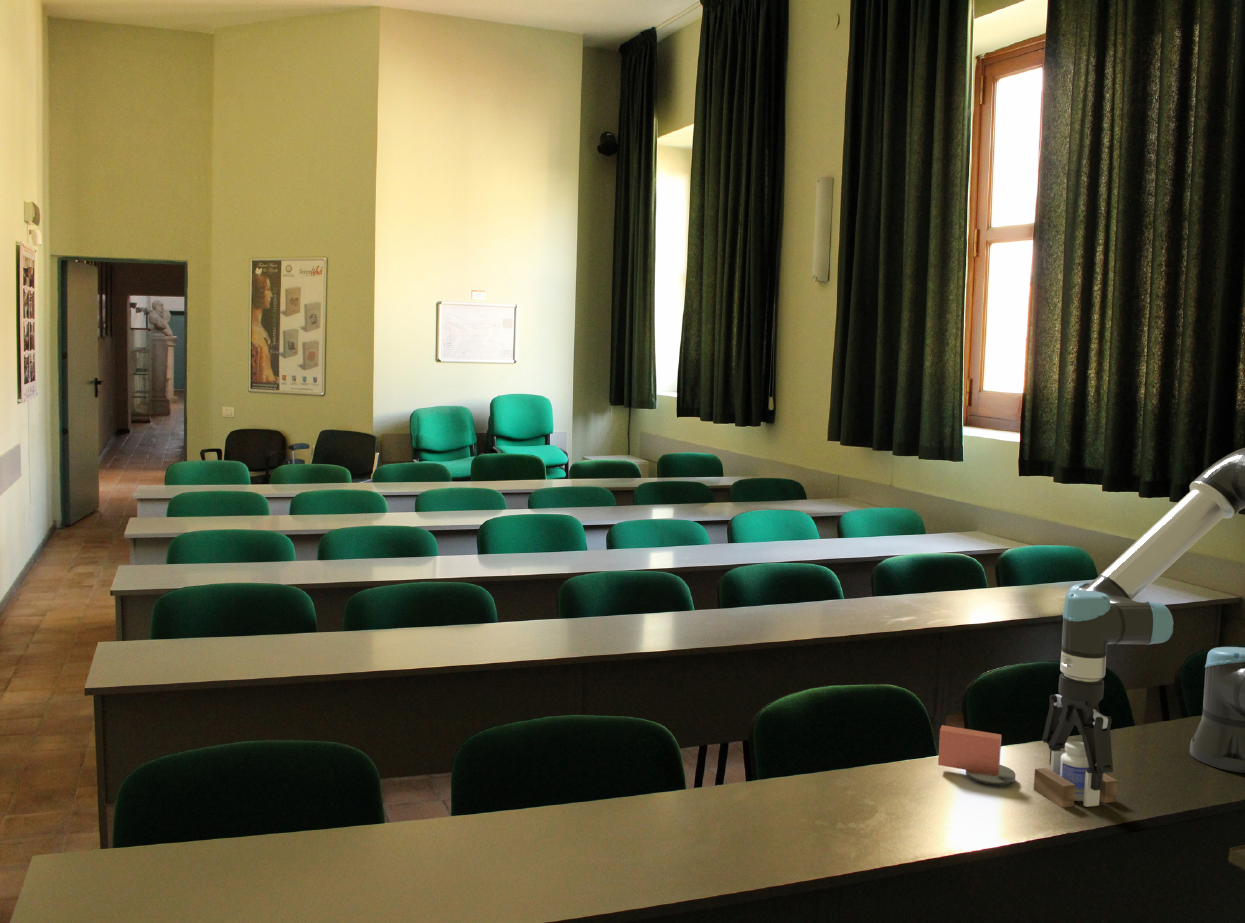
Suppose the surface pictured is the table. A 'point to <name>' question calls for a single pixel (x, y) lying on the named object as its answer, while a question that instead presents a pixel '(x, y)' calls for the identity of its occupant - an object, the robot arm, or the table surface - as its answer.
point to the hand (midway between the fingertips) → (1073, 794)
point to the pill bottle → (1075, 767)
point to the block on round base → (974, 754)
